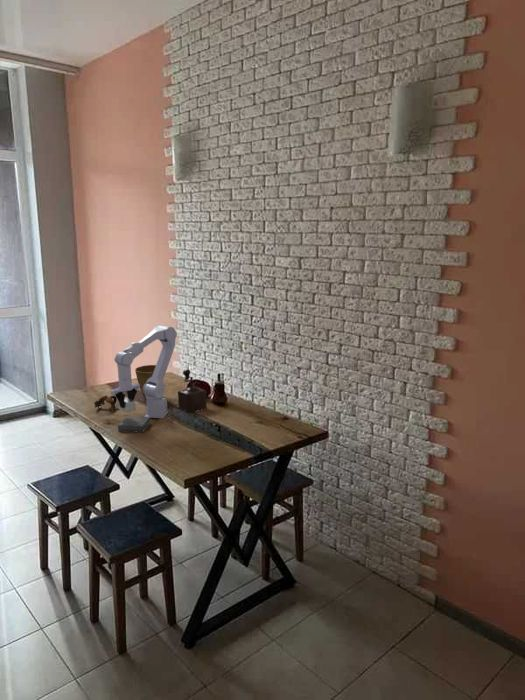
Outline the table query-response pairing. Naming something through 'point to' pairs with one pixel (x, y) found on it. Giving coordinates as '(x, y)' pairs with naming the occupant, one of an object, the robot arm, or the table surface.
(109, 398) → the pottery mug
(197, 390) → the manual coffee grinder
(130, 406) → the block
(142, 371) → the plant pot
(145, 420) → the stand
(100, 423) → the table surface
